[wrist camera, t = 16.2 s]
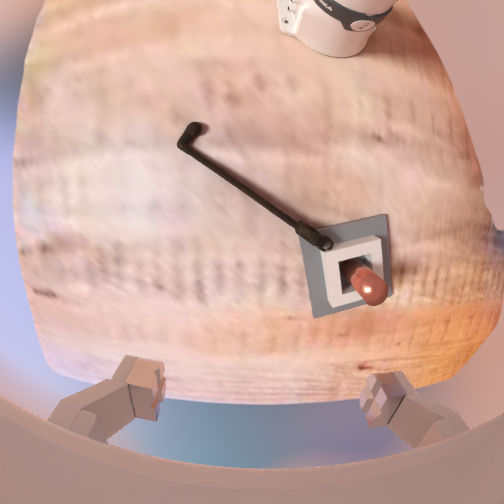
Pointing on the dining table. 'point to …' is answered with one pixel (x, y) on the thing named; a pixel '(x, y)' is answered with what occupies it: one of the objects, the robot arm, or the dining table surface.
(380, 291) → the pin
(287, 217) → the black hooked rod
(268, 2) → the dining table surface
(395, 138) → the dining table surface
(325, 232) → the socket board
